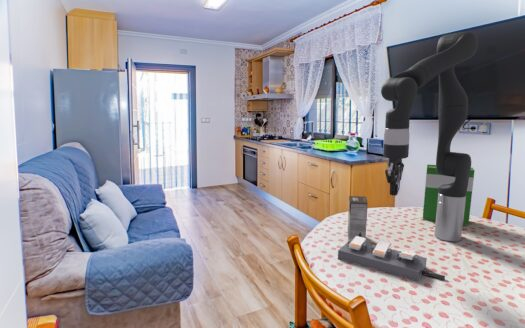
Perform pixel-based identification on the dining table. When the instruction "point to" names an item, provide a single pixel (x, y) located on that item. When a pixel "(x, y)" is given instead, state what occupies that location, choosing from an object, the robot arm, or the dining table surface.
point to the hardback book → (432, 193)
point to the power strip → (387, 262)
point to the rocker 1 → (357, 243)
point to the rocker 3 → (407, 255)
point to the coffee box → (357, 217)
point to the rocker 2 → (381, 248)
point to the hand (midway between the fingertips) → (393, 194)
